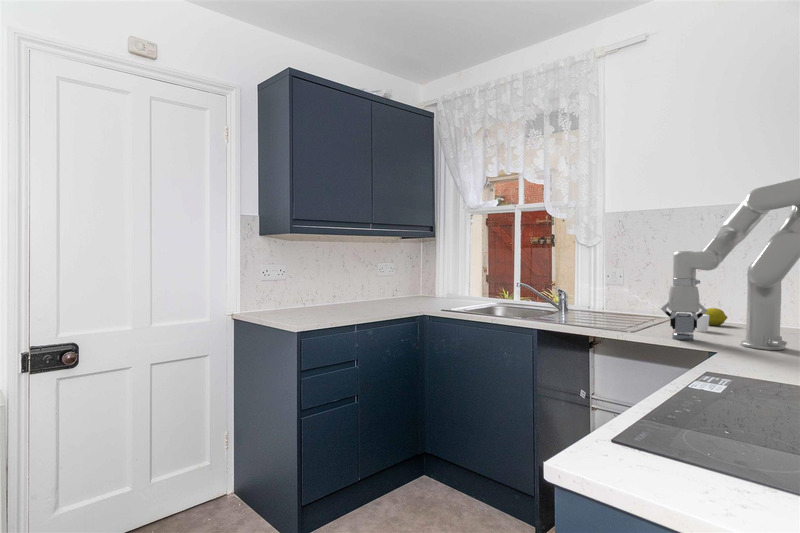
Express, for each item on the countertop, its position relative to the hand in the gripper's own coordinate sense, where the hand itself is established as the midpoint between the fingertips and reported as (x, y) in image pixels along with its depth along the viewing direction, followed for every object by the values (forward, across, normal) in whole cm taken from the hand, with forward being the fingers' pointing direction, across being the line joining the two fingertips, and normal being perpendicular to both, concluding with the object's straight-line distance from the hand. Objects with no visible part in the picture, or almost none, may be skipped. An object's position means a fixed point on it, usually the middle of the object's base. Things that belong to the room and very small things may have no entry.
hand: (683, 328), depth 179 cm
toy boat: (+4, 0, -6) cm, 7 cm away
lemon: (+4, -16, -43) cm, 46 cm away
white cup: (+4, -9, -24) cm, 26 cm away
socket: (+1, 0, 0) cm, 1 cm away
